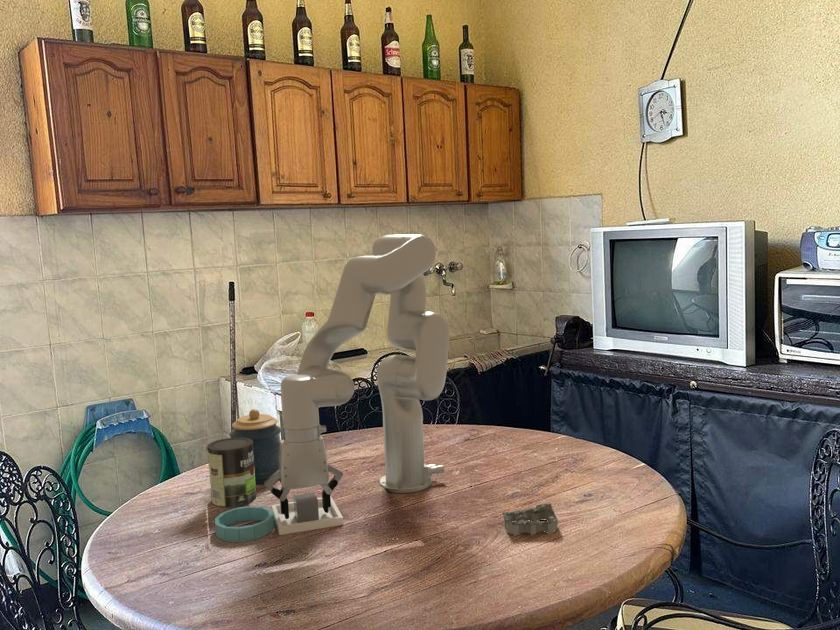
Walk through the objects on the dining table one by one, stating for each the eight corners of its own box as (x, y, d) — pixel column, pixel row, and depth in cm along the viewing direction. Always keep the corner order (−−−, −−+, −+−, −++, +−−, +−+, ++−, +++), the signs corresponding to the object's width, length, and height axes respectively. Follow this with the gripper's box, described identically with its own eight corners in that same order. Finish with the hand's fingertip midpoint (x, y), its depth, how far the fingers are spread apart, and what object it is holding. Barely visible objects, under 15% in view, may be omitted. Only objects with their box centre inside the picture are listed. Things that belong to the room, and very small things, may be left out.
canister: (259, 488, 177) (254, 418, 175) (221, 480, 183) (216, 412, 181) (294, 472, 188) (290, 405, 185) (258, 465, 194) (253, 401, 192)
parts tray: (331, 505, 164) (330, 496, 163) (343, 528, 151) (343, 517, 151) (272, 515, 160) (271, 504, 159) (279, 538, 147) (279, 527, 147)
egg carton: (553, 521, 151) (553, 502, 151) (559, 536, 144) (559, 516, 143) (502, 522, 152) (502, 503, 151) (505, 537, 144) (505, 517, 144)
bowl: (270, 518, 158) (269, 503, 157) (276, 539, 147) (275, 522, 146) (215, 527, 154) (214, 511, 154) (217, 549, 143) (216, 532, 143)
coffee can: (264, 495, 172) (260, 437, 171) (245, 511, 162) (241, 450, 161) (224, 493, 174) (220, 436, 173) (203, 510, 164) (198, 449, 163)
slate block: (315, 512, 158) (314, 492, 158) (319, 520, 154) (317, 499, 153) (294, 515, 157) (293, 495, 156) (297, 523, 153) (296, 502, 152)
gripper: (338, 424, 159) (342, 501, 161) (258, 434, 154) (263, 513, 156) (345, 433, 152) (349, 513, 154) (261, 443, 147) (266, 526, 149)
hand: (306, 513), depth 155 cm, fingers open, 7 cm apart
